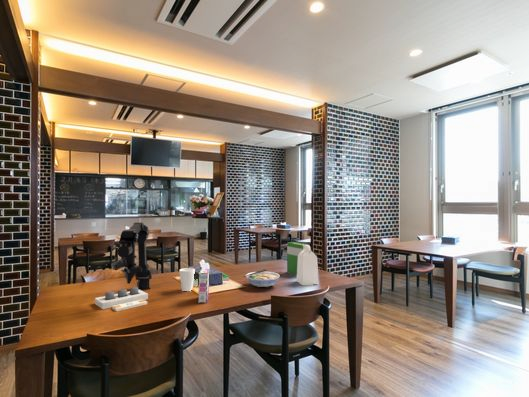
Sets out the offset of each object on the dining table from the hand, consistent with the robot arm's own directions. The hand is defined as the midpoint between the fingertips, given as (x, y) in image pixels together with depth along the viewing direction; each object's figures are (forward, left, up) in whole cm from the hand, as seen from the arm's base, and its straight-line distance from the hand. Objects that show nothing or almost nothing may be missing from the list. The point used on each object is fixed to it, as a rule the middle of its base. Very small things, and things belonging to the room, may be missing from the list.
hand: (128, 283), depth 161 cm
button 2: (-7, -10, -9) cm, 15 cm away
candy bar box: (-34, +19, -12) cm, 41 cm away
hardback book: (-123, +16, -12) cm, 125 cm away
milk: (-107, +37, -12) cm, 114 cm away
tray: (-59, -16, -13) cm, 63 cm away
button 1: (+6, -10, -9) cm, 15 cm away
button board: (0, -10, -12) cm, 15 cm away
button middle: (0, -10, -9) cm, 14 cm away
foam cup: (-37, -4, -12) cm, 40 cm away
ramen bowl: (-78, +22, -12) cm, 82 cm away
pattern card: (0, +1, -12) cm, 12 cm away
